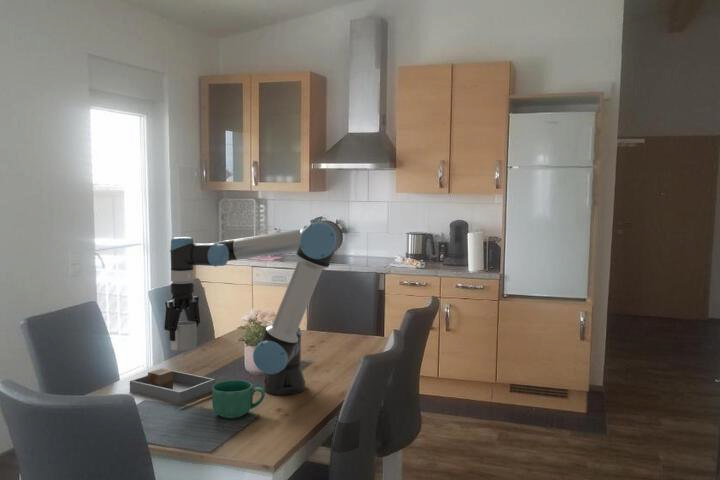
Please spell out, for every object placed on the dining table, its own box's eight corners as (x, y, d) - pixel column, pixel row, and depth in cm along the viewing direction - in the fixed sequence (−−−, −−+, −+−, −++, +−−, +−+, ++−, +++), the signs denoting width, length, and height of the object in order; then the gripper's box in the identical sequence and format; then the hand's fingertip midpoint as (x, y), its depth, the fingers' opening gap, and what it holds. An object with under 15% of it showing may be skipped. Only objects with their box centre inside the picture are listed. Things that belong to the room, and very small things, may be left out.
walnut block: (173, 387, 223) (172, 370, 223) (160, 391, 218) (160, 375, 218) (161, 384, 226) (160, 368, 226) (148, 388, 221) (147, 372, 220)
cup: (189, 351, 210) (189, 325, 210) (163, 349, 213) (163, 324, 212) (200, 346, 217) (200, 321, 217) (174, 344, 220) (174, 319, 219)
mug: (207, 421, 192) (207, 391, 192) (217, 407, 205) (217, 379, 204) (260, 422, 192) (260, 392, 191) (267, 408, 204) (267, 380, 204)
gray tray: (215, 391, 221) (215, 379, 221) (180, 405, 206) (179, 392, 206) (166, 380, 232) (166, 369, 232) (129, 393, 218) (129, 380, 217)
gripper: (194, 277, 224) (195, 340, 226) (151, 284, 206) (152, 352, 208) (210, 279, 221) (211, 342, 222) (168, 286, 203) (169, 355, 205)
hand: (182, 347), depth 215 cm, fingers closed on cup, 7 cm apart
